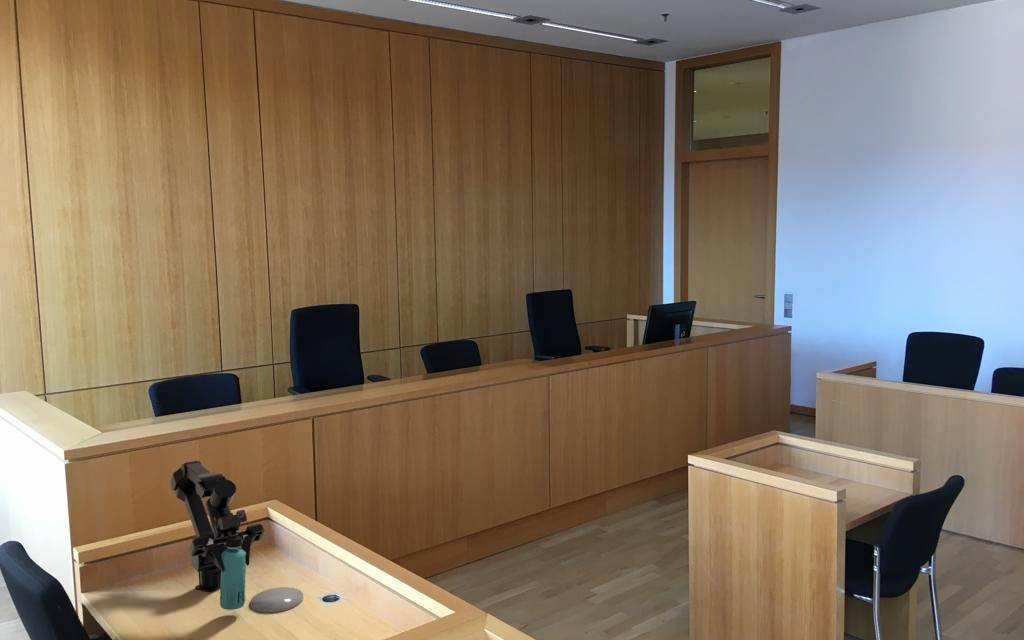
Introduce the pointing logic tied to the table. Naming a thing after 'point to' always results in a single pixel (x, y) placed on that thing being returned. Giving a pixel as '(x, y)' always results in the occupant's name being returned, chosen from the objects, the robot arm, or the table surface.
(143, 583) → the table surface
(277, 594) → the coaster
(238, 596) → the beverage bottle
